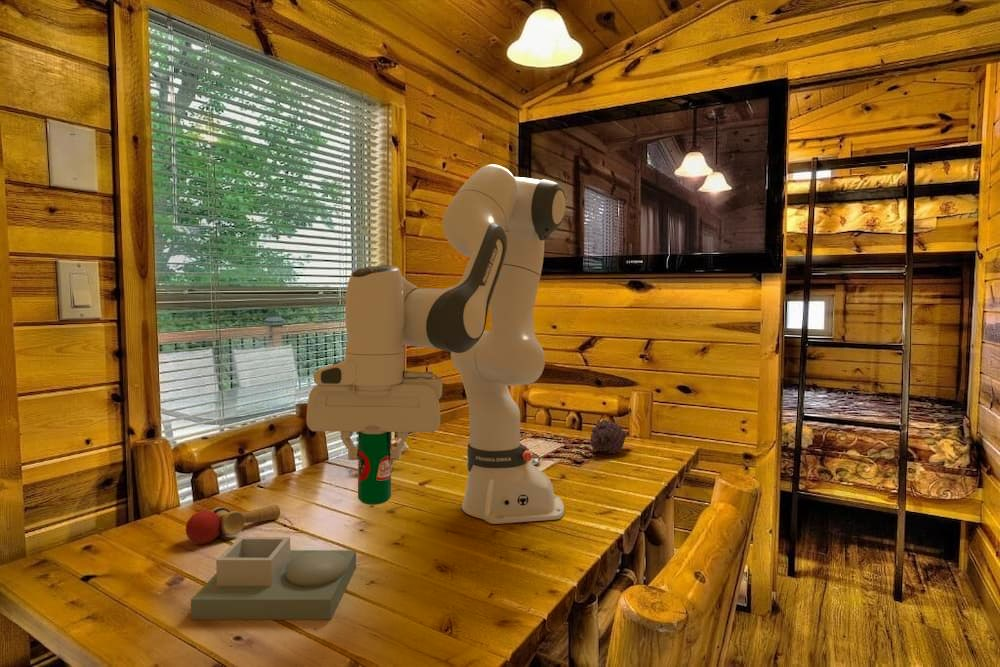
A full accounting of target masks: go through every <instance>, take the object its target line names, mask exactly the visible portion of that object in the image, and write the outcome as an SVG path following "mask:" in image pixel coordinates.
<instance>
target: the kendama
mask: <svg viewBox="0 0 1000 667" xmlns="http://www.w3.org/2000/svg"><path fill="white" fill-rule="evenodd" d="M280 516H281V509H280V506H279V505H278V504H273V505H270V506H266V507H262V508H257V509H254V510H253V509H252V510H248V511H246V512H243V513H242V512H240V511H236V510H231V511H230V510H229V509H228V508H226V507H222V506H218V507H217V506H216V507H215V508H213V509H211V510H201V511H198V512H195V513H194V514H193V515H191V517H189V519H188V520H187V523H186V525H185V533H186V536H187V538H188V540H189V541H190V542H191V543H193V544H194V545H198V546H199V545H205V544H208V543H211V542H212V541H214V540H215V539H216V538H218V537H219V536H220V535H222V534H224V535H226V536H235V535H237V534H239V533H241V531H243V529H244V527H245V525H246V524H248V523H249V524H250V523H255V522H265V521H266V522H267V521H275V520H278V519H279V518H280Z"/></svg>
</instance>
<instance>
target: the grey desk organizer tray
mask: <svg viewBox="0 0 1000 667" xmlns="http://www.w3.org/2000/svg"><path fill="white" fill-rule="evenodd" d="M215 562H216V564H215V566H216V570H215V571H216V573H215V574H214V575H212V577H211V578H210V579H209V580H208V581H207V582H206V583H205V584H204V585H203V586H202V587H201V589H199V590H198V591H197V593H195V595H194V596H192V597H191V598H190V618H191V620H192V621H193V620H195V621H196V620H198V621H199V620H202V621H203V620H206V621H207V620H208V621H209V620H210V621H211V620H212V621H213V620H215V621H216V620H217V621H218V620H220V621H221V620H226V621H227V620H228V621H229V620H231V621H232V620H233V621H235V620H236V621H237V620H243V621H245V620H246V621H248V620H252V621H253V620H255V621H258V620H259V621H260V620H261V621H262V620H267V621H268V620H269V621H271V620H274V621H275V620H277V621H279V620H280V621H281V620H282V621H283V620H284V621H285V620H286V621H287V620H288V621H290V620H292V621H293V620H295V621H297V620H299V621H300V620H302V621H303V620H309V621H310V620H313V621H316V620H317V621H319V620H320V621H325V620H326V621H327V620H332V618H333V617H334V615H335V613H336V610H337V608H338V606H339V605H340V602H341V600H342V598H343V597H344V596H343V595H344V593H345V591H346V589H347V587H348V585H349V583H350V581H351V579H352V577H353V575H354V573H355V571H356V569H357V550H354V549H353V550H350V549H349V550H348V549H346V550H345V549H344V550H339V549H338V550H337V549H336V550H331V549H330V550H328V549H327V550H326V549H325V550H321V549H320V550H319V549H318V550H314V549H309V550H307V549H306V550H303V549H302V550H301V549H299V550H298V549H296V550H295V549H293V550H292V549H291V537H289V536H239V537H238V538H237V539H236V540H235V541H234V542H233V543H232V544H231V545H229V547H228V548H226V550H225V551H224V552H223V553H222V554H221V555H219V557H218V558H217V559H215Z"/></svg>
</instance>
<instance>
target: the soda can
mask: <svg viewBox="0 0 1000 667" xmlns="http://www.w3.org/2000/svg"><path fill="white" fill-rule="evenodd" d="M365 428H366V429H365V430H363V431H362V432H357V446H358V460H357V499H358V500H359V501H360V502H361V503H362V504H364V505H368V506H369V505H371V506H374V505H382V504H384V503H386V502H388V501H389V500H390V498H391V497H392V471H391V466H392V465H391V460H390V456H391V454H390V449H391V441H392V432H384V431H382V430H381V429H380V427H365Z"/></svg>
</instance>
